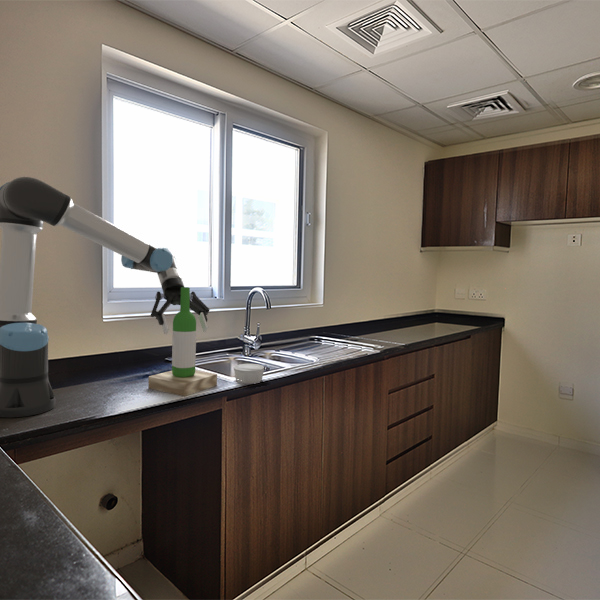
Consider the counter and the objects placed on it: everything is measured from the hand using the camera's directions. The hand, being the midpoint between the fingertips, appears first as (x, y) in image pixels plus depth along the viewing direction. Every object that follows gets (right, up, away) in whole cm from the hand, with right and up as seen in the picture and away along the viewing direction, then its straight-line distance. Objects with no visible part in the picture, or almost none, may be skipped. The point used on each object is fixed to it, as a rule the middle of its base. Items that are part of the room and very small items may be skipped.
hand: (186, 330), depth 145 cm
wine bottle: (-2, -16, +3) cm, 16 cm away
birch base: (-2, -19, +3) cm, 20 cm away
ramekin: (+19, -20, +15) cm, 31 cm away
